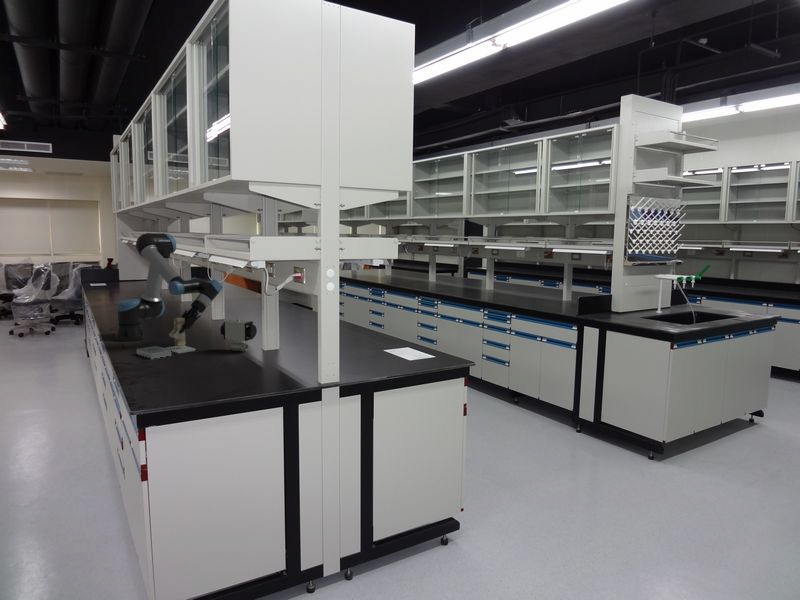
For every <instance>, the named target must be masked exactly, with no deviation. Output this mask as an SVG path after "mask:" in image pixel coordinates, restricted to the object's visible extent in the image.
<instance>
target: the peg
mask: <svg viewBox="0 0 800 600" xmlns="http://www.w3.org/2000/svg"><path fill="white" fill-rule="evenodd" d="M184 323H185V318H181V316H180V317H174V318H173V329H174V334H175V333H176V332H177V331H178V329H179V328H180V327H182V326H181V325H184ZM173 339H174V346H177V347H180V346H187V345H186V344H187V343H186V330H185V331H184V332H183V333H182V334H181V335H180V337H179V338H178V339H176V338H174V337H173Z"/></svg>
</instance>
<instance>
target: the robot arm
mask: <svg viewBox="0 0 800 600" xmlns="http://www.w3.org/2000/svg"><path fill="white" fill-rule="evenodd" d="M135 248H136V251H137V253H138V255H140V257H141V258H143V259H146V260H147V262H148V263H149V267H148V272H147V278H146V282H145V288H144V294H141V296H140V299H139V298H128V299H127V298H126V299H123V300H120V301H119V302H118V303H117V307H116V309H117V321H118V322H117V323H118V325H117V326H118V327H117V331H116V334H115V340H116V341H117V342H133V341H134V340H135V341H140V339H141V340H144V339H145V333H144V330H143V328H142V325H141V321H142V320H150V319H156V318H160V317H161V316H162V315H163V314H164V313H165V310H166V306H165V302H164V300H163V298H162V297H161V291H162V286H163V283H164V282H163V281H165V282H166V283H167V285H168V286H167V288H168V290H169V291H168V292H169V294H170V295H172V296H173V295H175V296H180V295H181V296H182V295H187V294H198V296H197V297H196V298H195V299H194V300H193V301H192V303H191V304H190V306H191V307H190V309H189V310H187V309H185V310H184V312H183V313H182V315H180V317H181V318H185V323H184V325H181V326H182V327H180V328H179V329H178V331H177V332H176V333H175V334H174V328H173V329H172V331H171V332H169V334H168V336H169V337H170V338H171V339H174V338H176V339H178V338H179V337H180V335H181V334H182V333H183V332H184V331H185V332H186V330H189V329H191V327H192V326H193V325H194V323H195V322H196V321H197V320H199V318H200V317H202V313H204V312H205V311H206V309H207V308H208V307H209V306H210V305H211V303H212V302H213V300H214V299H215V298H216V297H217V296H218V295H219V294H220V292H221V291H222V289H223V285H222V283H221V282H220V281H218V279H211V280H210V281H206V280H204V279H201V278H198V277H191V278H190V279H186V280H185V279H183V278H182V276H181V275H179V273H178V272H177V271H176V270H175V269H174V268H173V266H172V265H171V264H170V263H169V262H168V261H167V260H169V259H170V258H171V254H173V253H174V252H176V249H177V241H176V239H175V237H174V236H173V235H172V234H170V233H164V232H158V233H154V232H152V233H151V232H145V233H142V234H141V235H139V236H138V237H137V239H136V241H135ZM135 341H134V342H135Z"/></svg>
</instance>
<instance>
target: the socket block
mask: <svg viewBox="0 0 800 600" xmlns="http://www.w3.org/2000/svg"><path fill="white" fill-rule="evenodd" d="M165 348H166V347H162V346H159V345H154V346H147V347H140V348H136V355H137V354H138V355H137V356H140V355H141V356H140V357H143V356H144V357H143V358H145V357H147V358H146V359H148V358H150V359H149V360H155V359H154V358H157V359H161V358H160V357H163V358H166V356H169V357H172V352H171V350H169V349H165Z"/></svg>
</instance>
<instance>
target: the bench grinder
mask: <svg viewBox="0 0 800 600" xmlns="http://www.w3.org/2000/svg"><path fill="white" fill-rule="evenodd" d="M257 332H258V330H257V326H256V325H255V324H254V321H251V320H241V319H240V318H238V317H237V318H236V319H235V320H233V319H230V320H226V321H223V323H222V324H221V326H220V331H219V333H220V334H221V336H223V340H225V341H226V340H229V341H233V342H231V343H230V344H229V349H230V350H231V351H234V352H246V351H248V350H249V345H248V343H246V342H248V341H251V340H254V339H255V337H256V335H257Z"/></svg>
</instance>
